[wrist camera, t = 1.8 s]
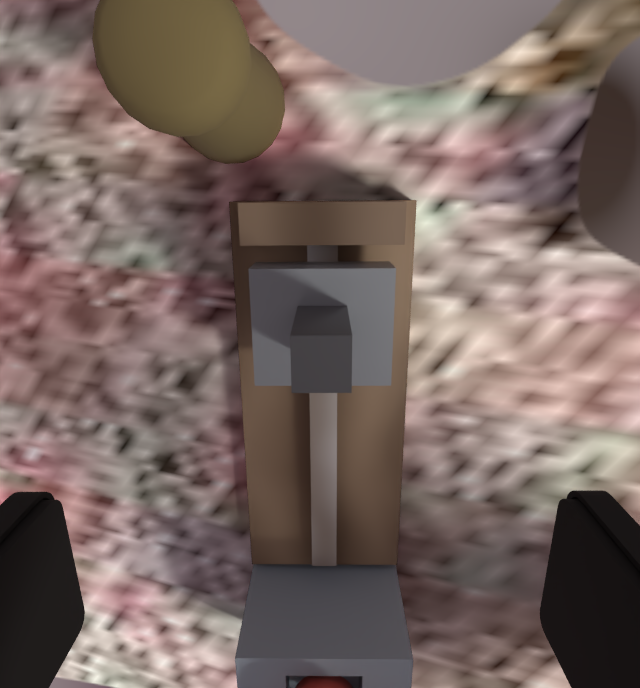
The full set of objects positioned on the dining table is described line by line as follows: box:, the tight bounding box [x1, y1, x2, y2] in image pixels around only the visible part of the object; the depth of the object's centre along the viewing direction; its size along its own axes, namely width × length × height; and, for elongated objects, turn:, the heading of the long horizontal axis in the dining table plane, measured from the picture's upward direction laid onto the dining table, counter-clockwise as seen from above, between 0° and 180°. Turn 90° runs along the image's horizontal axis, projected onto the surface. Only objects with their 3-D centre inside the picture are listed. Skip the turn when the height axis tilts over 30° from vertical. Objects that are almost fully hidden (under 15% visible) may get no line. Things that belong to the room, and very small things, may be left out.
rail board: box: [229, 200, 416, 566], centre depth 28 cm, size 10×24×4 cm, turn 1°
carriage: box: [248, 261, 396, 393], centre depth 22 cm, size 7×6×8 cm
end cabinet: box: [235, 564, 413, 688], centre depth 31 cm, size 10×7×8 cm
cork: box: [92, 0, 285, 164], centre depth 20 cm, size 6×6×11 cm
